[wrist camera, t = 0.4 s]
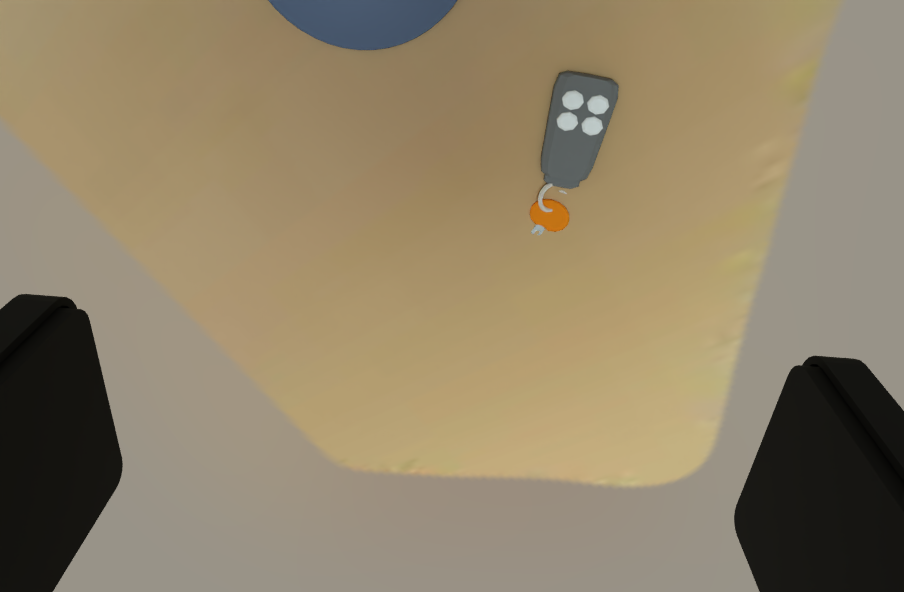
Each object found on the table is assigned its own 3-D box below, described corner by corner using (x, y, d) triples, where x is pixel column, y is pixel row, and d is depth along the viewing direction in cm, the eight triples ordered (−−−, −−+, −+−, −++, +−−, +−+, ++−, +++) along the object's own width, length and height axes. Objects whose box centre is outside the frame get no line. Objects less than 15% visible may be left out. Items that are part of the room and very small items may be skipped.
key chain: (552, 65, 37) (554, 70, 35) (619, 77, 37) (625, 84, 36) (501, 274, 43) (502, 286, 42) (559, 284, 43) (561, 296, 42)
